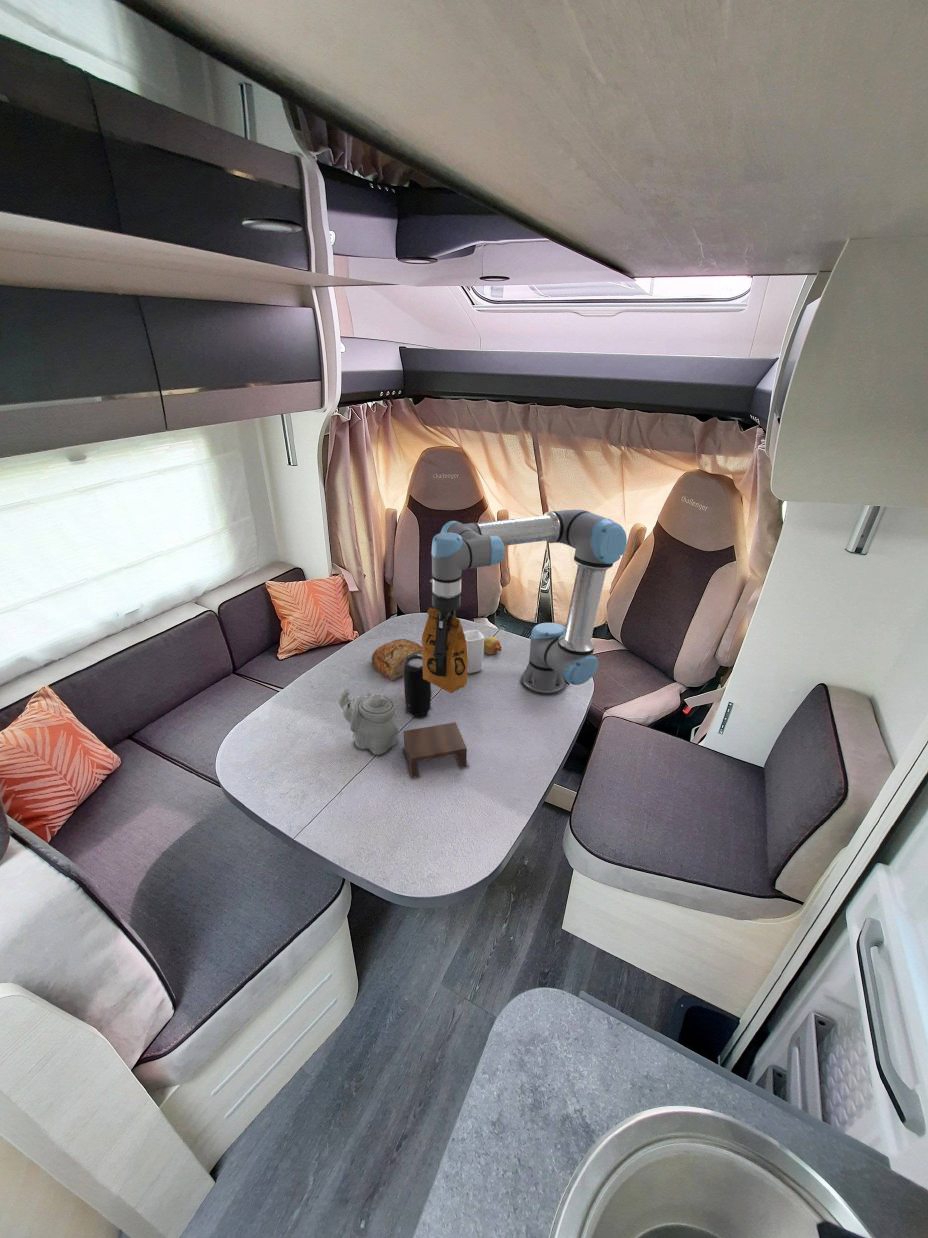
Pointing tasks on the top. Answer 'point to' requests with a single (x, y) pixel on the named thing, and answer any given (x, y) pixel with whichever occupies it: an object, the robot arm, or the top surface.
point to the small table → (434, 744)
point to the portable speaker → (416, 687)
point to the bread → (394, 657)
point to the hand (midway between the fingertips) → (445, 663)
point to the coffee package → (454, 652)
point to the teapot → (371, 721)
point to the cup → (474, 650)
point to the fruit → (492, 645)
